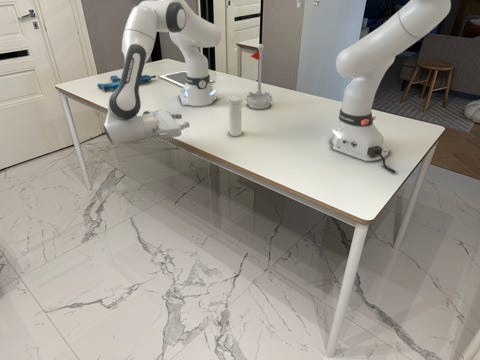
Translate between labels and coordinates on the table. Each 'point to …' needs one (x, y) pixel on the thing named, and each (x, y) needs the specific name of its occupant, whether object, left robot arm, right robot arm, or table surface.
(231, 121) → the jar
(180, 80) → the tablet
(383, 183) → the table surface
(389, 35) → the right robot arm
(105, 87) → the submachine gun
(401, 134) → the table surface
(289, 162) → the table surface
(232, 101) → the lid
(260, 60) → the flag stand
